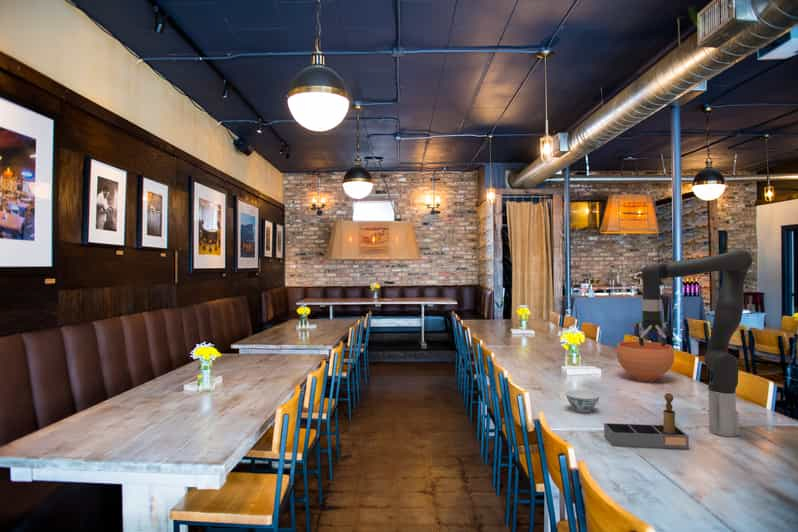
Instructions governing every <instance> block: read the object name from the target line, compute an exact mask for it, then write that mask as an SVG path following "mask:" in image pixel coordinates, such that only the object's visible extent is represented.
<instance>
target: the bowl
mask: <svg viewBox="0 0 798 532" xmlns="http://www.w3.org/2000/svg"><path fill="white" fill-rule="evenodd" d="M616 357H617V360H618V363H619V364H620V366H621V367H622V368H623V370H624V371H625V372H626V373H628V374H629V375H630V376H632V377H633V378H635V379H634V380H636V379H637V380H636V381H639V380H642V381H641V382H644V381H653V382H655V381H654V380H657V379H659V378H661V376H663V375H665V374H666V373H668V372H669V370H670V369H671V368H672V367H673V365H674V361H675V352H674V348H673V346H672V345H670V344H667V343H666V345H665V346H664V347H662V346H661V342H654V341H653V342H651V341H644V346H640V345H639V340H638V341H633V340H631V341H620V342H618V343H617V346H616Z"/></svg>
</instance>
